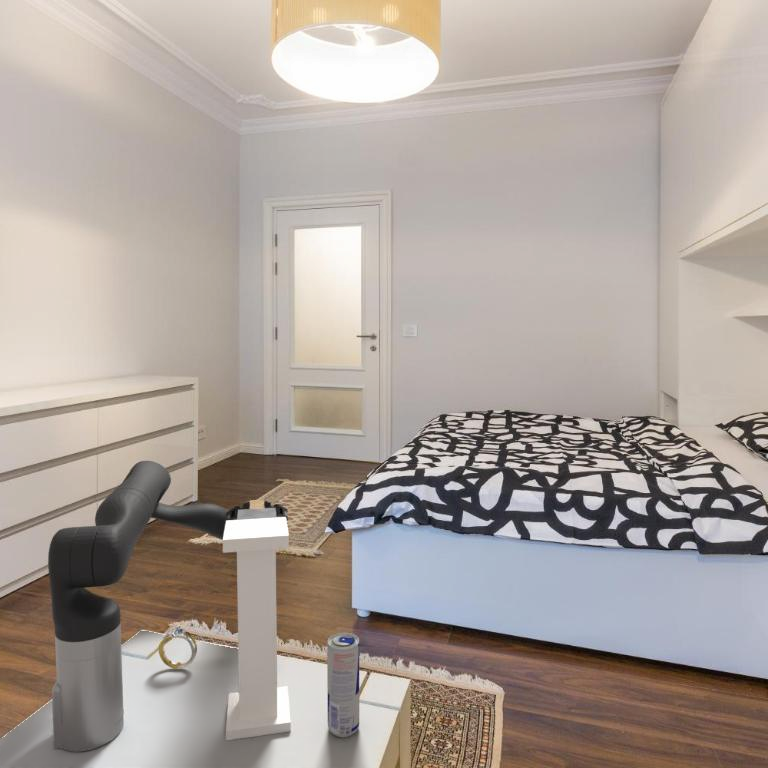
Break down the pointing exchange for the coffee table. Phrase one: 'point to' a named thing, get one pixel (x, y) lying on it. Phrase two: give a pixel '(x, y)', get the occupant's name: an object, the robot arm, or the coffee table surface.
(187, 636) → the ring
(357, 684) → the beverage can
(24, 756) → the coffee table surface
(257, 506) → the hammer
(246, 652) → the stand
